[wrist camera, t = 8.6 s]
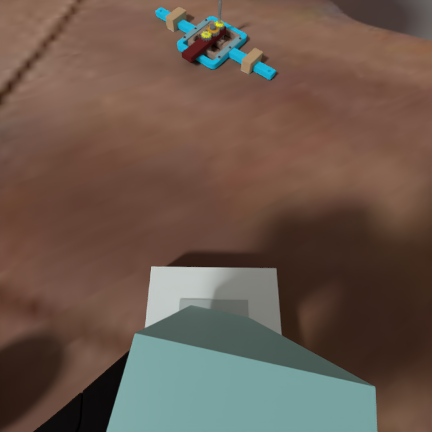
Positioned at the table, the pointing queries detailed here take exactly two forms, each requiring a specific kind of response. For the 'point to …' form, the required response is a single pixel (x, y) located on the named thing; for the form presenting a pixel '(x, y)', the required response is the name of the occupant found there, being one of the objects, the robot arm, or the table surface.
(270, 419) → the pillar
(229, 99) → the table surface
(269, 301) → the plinth
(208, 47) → the gear mechanism
